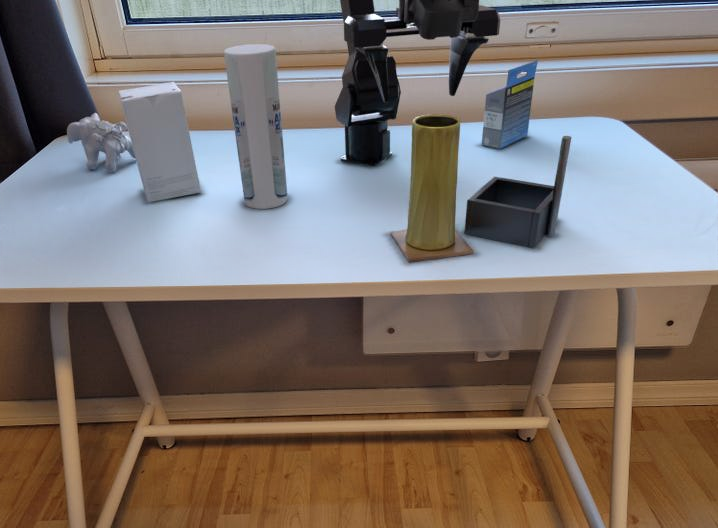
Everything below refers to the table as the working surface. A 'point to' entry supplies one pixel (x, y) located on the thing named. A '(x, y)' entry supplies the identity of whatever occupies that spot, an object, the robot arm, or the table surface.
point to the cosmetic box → (161, 140)
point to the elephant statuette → (100, 140)
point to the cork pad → (419, 255)
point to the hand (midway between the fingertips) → (419, 98)
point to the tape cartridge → (509, 109)
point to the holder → (517, 207)
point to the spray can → (257, 123)
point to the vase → (433, 182)
